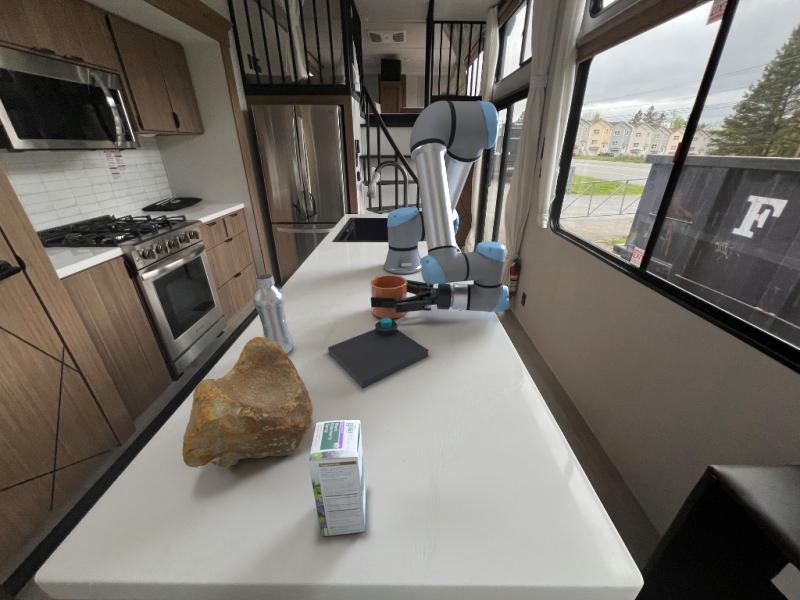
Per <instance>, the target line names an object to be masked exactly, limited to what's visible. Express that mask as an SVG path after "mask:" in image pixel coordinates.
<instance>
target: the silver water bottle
mask: <svg viewBox="0 0 800 600" xmlns="http://www.w3.org/2000/svg"><path fill="white" fill-rule="evenodd" d="M254 280H255V285H256V288H257V289H256V292H255V293H254V295H253V300H252V301H253V305H254V307H255V309H256V312H257V314H258V316H259V321H260V323H261V326H262V331H263V332H262V333H263V337H264V338H269V339H270V340H272V341H274V342H277V343H278V344H279V345H280V346H281V347H282V349H283V350H284V352H285V353H286V355H287V354H289V353H290V352H291V351H292V349H293V348H294V338H293V337H292V334H291V332H290V329H289V326H288V323H287V319H286V311H285V297H284V294H283V292H282V291H281V290H280V289H279V288H278V287H277V286H276V285H275V284H276V281H275V277H274V275H273V274H272V273H263V274H260V275H257V276H255V279H254Z"/></svg>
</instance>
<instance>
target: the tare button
mask: <svg viewBox="0 0 800 600" xmlns="http://www.w3.org/2000/svg"><path fill="white" fill-rule="evenodd" d="M392 320H393V319H390V318H380V321H381V328H385V329H386V328H390V327H392Z"/></svg>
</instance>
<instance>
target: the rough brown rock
mask: <svg viewBox="0 0 800 600" xmlns="http://www.w3.org/2000/svg"><path fill="white" fill-rule="evenodd" d="M299 374H300V373H299V372H298V370H297V368H296V366H295V364H294V363H293V361H292V360H291V358H289V356H288V355H287V354H286V353H285V352H284V350H283V349H282V347H281V346H280V345H279V344H278V343H277V342H274V341H272V340H270V339H269V338H264V336H254V337H253V338H251V339H249V340H248V341H247V342H246V343H245V345H244V346H243V349H242V350H241V353H240V354H239V357H238V360H237V362H236V363H235V364H234V365H233V367H232V368H231V370H229V371H228V372H227V373H226V374H225V375H223V376H222V377H219V378H216V379H213V378H206V379H204V380H202V381H200V382H199V383H198V384H197V385H196V386H195V388H194V390H193V394H192V405H191V408H190V414H189V420H188V422H187V425H186V428H185V432H184V435H183V440H182V449H181V450H182V451H181V452H182V459H183V462H184V464H185V465H186V466H187V467H189V468H194V469H195V468H199V467H203V466H206V465H208V464H209V463H211V464H213V465H216V466H218V468H220V469H222V470H224V469H227V468H229V467H231V466H234V465H237V464H238V463H239V462H240V460H245V459H250V458H253V459H262V458H265V457H266V456H267V457H268V456H269V457H284V456H285V457H286V456H291V455H292V454H293V453H294V452H296V450H297V449H298V448H299V446H300V445H301V444H302V443H301V442H302V439H303V437H304V436H305V435H306V434H307V431H308V430H309V429H310V427H311V425H312V422H313V421H312V420H313V419H312V418H313V403H312V400H311V396H310V393H309V391H308V390H307V388H306V385H305V383H304V381H303V379H302V377H301V376H300V375H299Z"/></svg>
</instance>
